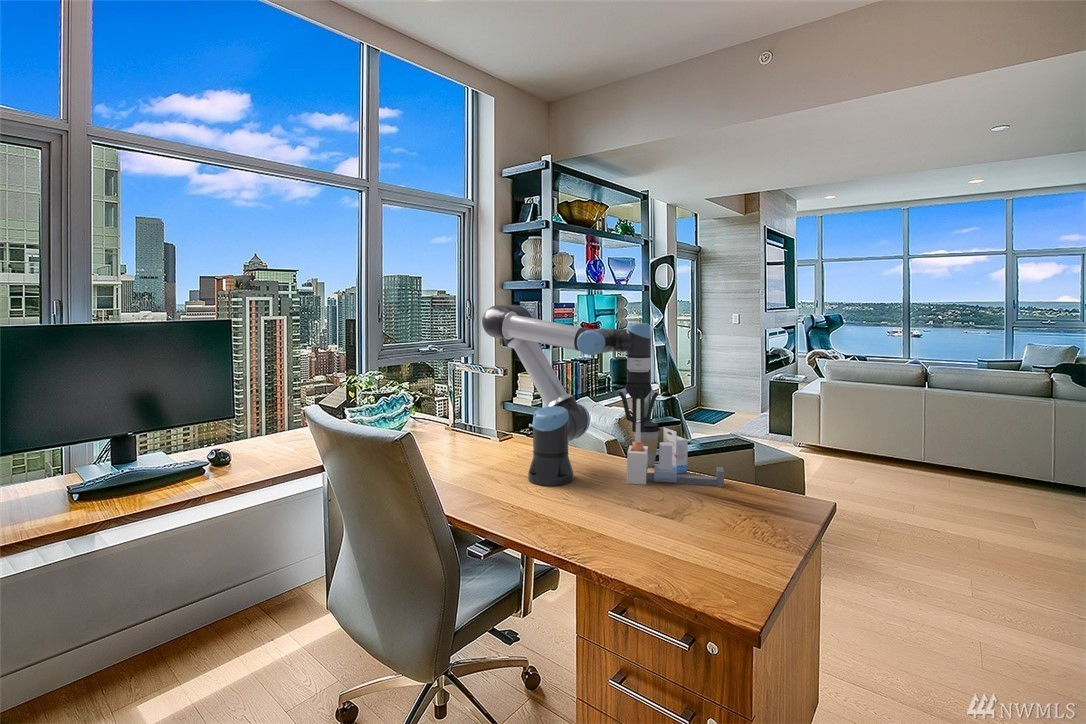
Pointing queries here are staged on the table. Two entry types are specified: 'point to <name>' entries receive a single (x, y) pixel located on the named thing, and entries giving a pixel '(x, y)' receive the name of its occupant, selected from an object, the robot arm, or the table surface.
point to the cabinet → (637, 466)
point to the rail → (696, 479)
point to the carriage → (665, 464)
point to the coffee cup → (650, 440)
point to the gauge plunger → (637, 446)
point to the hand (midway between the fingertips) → (638, 441)
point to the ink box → (677, 449)
